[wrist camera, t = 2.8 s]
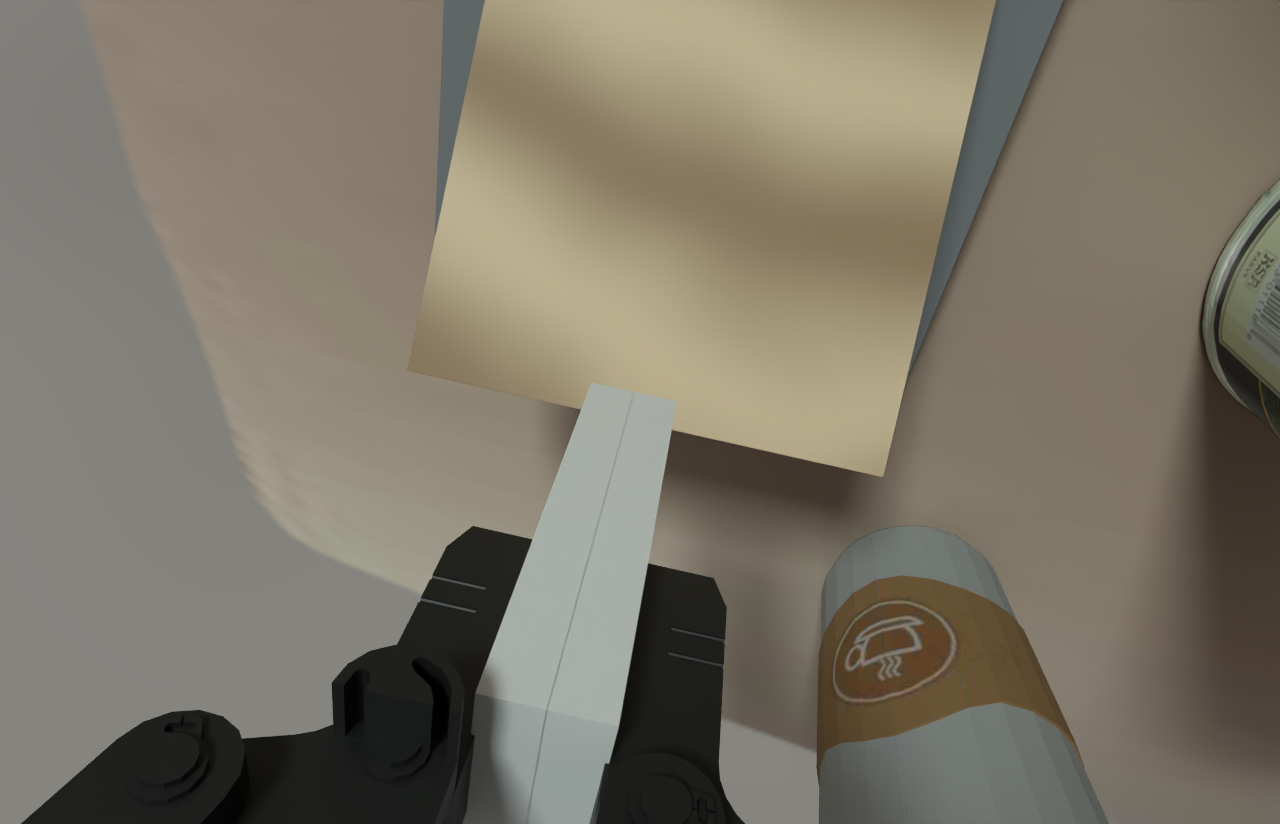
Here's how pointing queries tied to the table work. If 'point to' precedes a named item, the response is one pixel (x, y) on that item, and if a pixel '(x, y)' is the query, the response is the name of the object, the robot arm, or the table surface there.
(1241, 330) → the coffee can
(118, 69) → the table surface
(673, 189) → the plank
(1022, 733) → the coffee cup
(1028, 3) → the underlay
